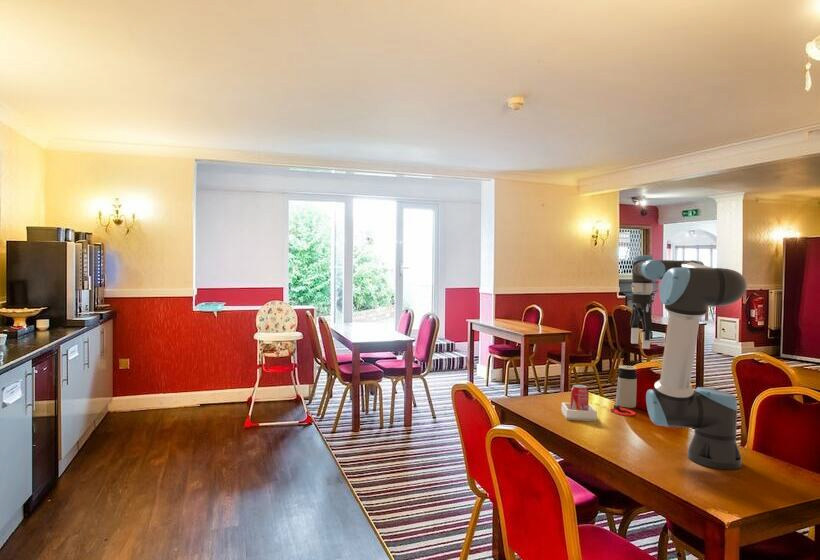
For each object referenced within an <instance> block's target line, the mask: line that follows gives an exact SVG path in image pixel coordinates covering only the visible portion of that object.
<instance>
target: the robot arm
mask: <svg viewBox="0 0 820 560" xmlns="http://www.w3.org/2000/svg"><path fill="white" fill-rule="evenodd" d="M631 266H632V275H631V276H632V277H631V285H630V287H631V292H632V294H631V303H632V310H631V311H632V312H631V316H630V321H629V326H630V328H631V329H630V330H631V331H630V332H631V333H630V343H631V344H634V345H635V344H636V345H639V338H640V337H639V336H640V335H639V331H640V325H639V324H640V322H641V325H642V329H641V332H642V336H641V337H642V338H641V339H642V341H641V349H646V350H650V349H651V332H653V331H654V327H653V320H652V313H651V312H652V311H651V308H652V307H651V306H648V305H650V304H652V303H653V295H652V294H653V289H654V288H653V286H654V284H653V280H654V281H656V280H657V281H660V285H659V300H660V302H661V303H662V305H664V309H665V311H667V312H668V320H667V327H666V335H665V342H664V349H663V357H662V363H661V371H660V378H659V379H658V380H657V381H655V382H654V385H653V389H652V388H650V389H647V391H646V393H645V403H646V408H647V413H648V417H649V419H650V420H651V422H652V423H653V424H654V425H656V426H660V427H666V428H670V427H671V428H674V427H675V428H687V429H688V428H689V429H694V434H693V437H692V439H691V441H690V444H689V446H688V449H687V457H688V459H690V460H691V461H692V462H694V463H696V464H699V465H701V466H705V467H708V468H709V467H710V468H714V469H718V470H719V469H720V470H737V469H738V470H739V469H740V468H741V467H742V465H743V464H742V456H741V453H740V451H739V447H738V444H737V424H738V423H737V422H738V421H737V420H738V400H737V398H736V397H735V395H733V394H731V393H729V392H725V391H722V390H718V389H714V388H711V387H705V386H704V387H703V386H700V387H699V386H698V387H696V388H695V390H694V389H693V387H692V386H691V380H692V372H693V365H694V359H695V352H696V347H697V346H696V345H697V341H698V340H697V339H698V334H699V326H700V322H701V321H700V320H701V318H702V317H704V316H705V315H707V313H708V308H709V307H723V306H729V305H732V304H734V303H736V302H738V301H739V300H741V299H742V298H743V296H744V294H745V293H746V291H747V286H748V285H747V282H746V278H745V277H744V276H743V275H742V274H741V272H739V271H737V270H734V269H729V268H724V267H711V266H707V265H705V264H704V262H702V261H700V260H693V259H692V260H691V259H690V260H673V259H672V260H670V259H665V260H664V259H654V257H653V256H652V255H648V254H647V255H642V254H641V255H634V256H633V258H632V263H631Z"/></svg>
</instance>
